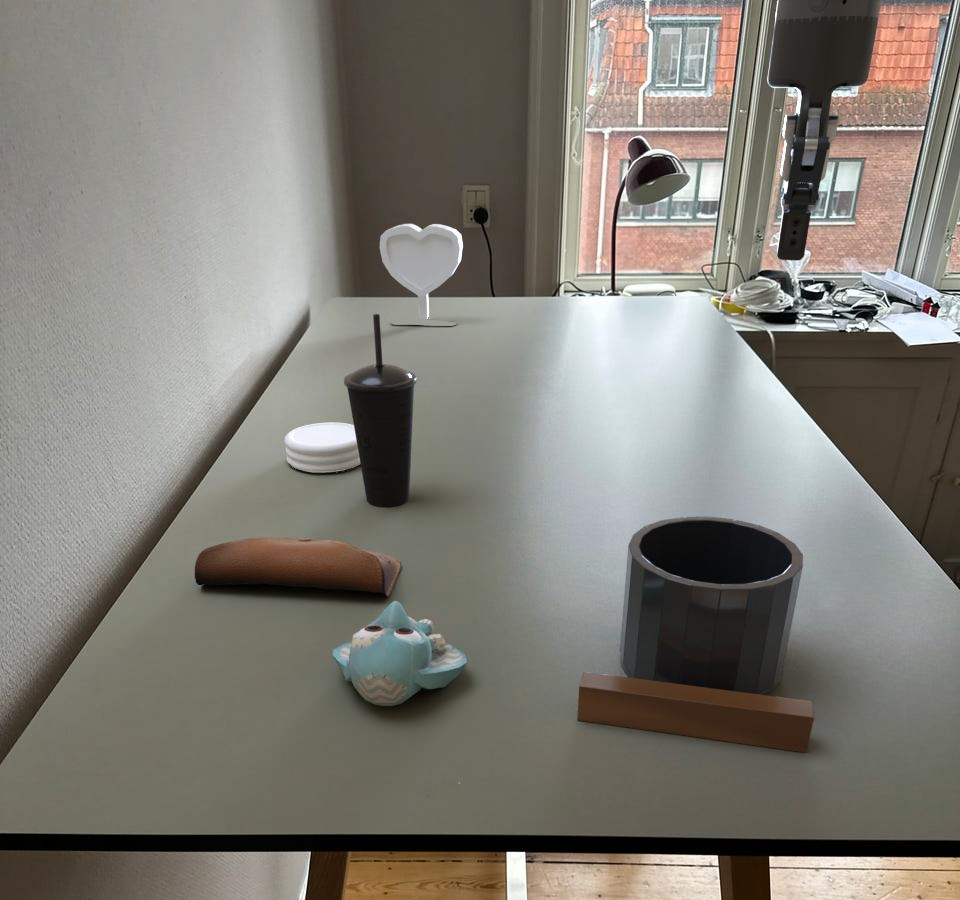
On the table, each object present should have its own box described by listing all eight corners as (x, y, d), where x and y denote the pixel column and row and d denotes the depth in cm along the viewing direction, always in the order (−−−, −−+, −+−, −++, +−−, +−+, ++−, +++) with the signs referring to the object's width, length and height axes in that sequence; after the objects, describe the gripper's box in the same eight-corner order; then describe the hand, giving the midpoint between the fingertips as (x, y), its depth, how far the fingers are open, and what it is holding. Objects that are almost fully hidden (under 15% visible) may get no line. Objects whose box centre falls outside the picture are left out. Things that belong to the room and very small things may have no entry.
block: (581, 705, 69) (583, 671, 67) (805, 736, 65) (812, 701, 63) (577, 720, 67) (579, 686, 65) (806, 753, 63) (814, 717, 62)
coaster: (327, 481, 109) (324, 452, 107) (270, 463, 114) (266, 436, 112) (384, 457, 115) (382, 430, 114) (328, 442, 121) (325, 416, 119)
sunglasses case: (405, 557, 89) (394, 516, 83) (394, 619, 86) (382, 581, 80) (227, 548, 91) (205, 508, 86) (210, 609, 88) (185, 571, 82)
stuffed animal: (482, 581, 74) (451, 629, 63) (480, 663, 77) (449, 724, 65) (354, 571, 76) (302, 616, 65) (356, 652, 78) (306, 709, 67)
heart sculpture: (383, 325, 181) (377, 226, 172) (389, 320, 186) (383, 223, 176) (460, 327, 179) (458, 227, 170) (464, 321, 183) (463, 223, 174)
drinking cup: (376, 482, 108) (364, 304, 98) (433, 492, 105) (427, 310, 95) (340, 504, 102) (323, 318, 92) (399, 516, 99) (389, 325, 89)
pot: (726, 614, 80) (742, 507, 75) (814, 690, 70) (839, 573, 65) (594, 638, 77) (601, 528, 72) (666, 722, 67) (681, 601, 61)
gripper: (889, 6, 63) (841, 273, 72) (870, 18, 74) (830, 249, 83) (777, 9, 65) (743, 270, 74) (774, 21, 76) (745, 246, 85)
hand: (789, 258), depth 79 cm, fingers closed
